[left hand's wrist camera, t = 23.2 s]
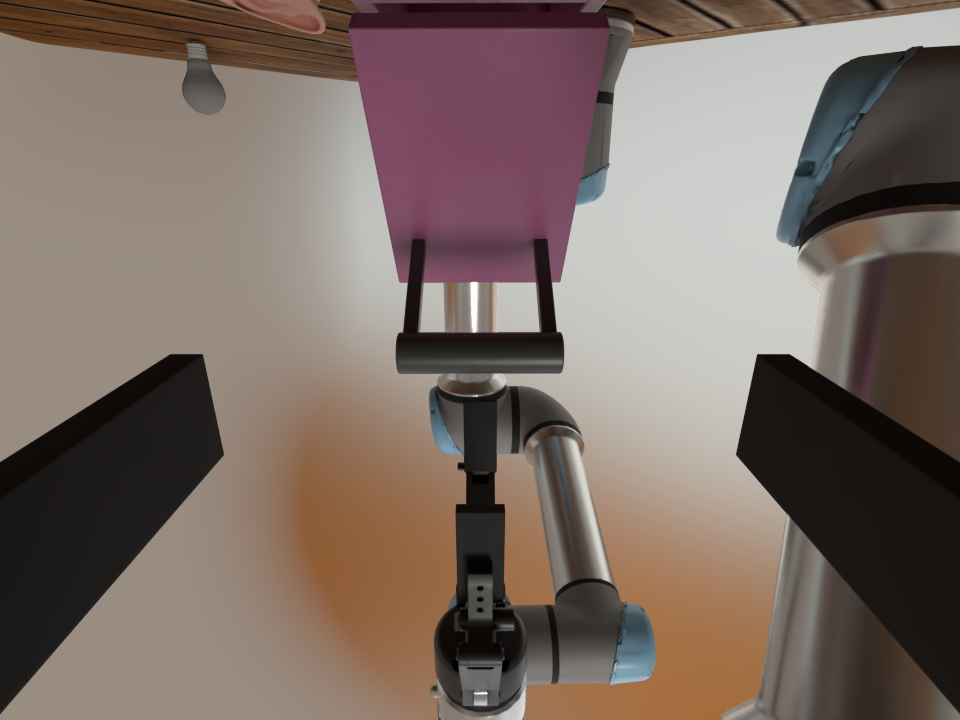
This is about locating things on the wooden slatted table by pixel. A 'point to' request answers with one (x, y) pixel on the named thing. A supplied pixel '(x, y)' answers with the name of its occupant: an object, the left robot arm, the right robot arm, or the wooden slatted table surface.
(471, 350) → the lid
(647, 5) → the wooden slatted table surface
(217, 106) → the light bulb
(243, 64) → the wooden slatted table surface
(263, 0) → the anatomical model
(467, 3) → the chest
